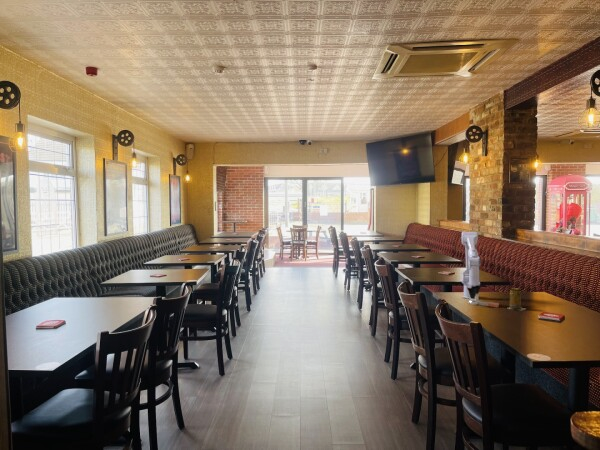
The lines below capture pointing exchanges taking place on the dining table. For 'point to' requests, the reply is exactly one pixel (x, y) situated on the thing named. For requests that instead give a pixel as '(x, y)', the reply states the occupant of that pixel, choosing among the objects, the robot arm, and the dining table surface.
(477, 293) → the brushed metal cube
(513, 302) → the condiment
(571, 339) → the dining table surface
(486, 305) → the metal scoop
